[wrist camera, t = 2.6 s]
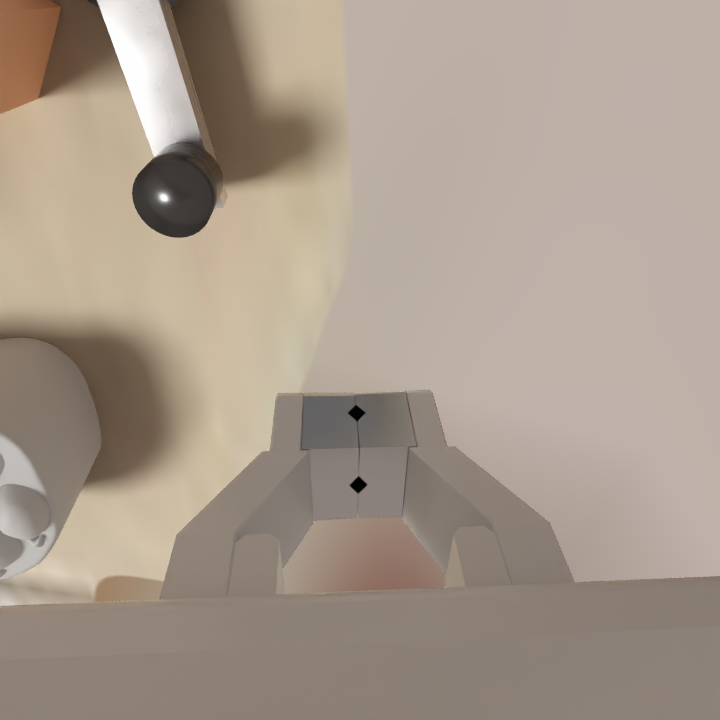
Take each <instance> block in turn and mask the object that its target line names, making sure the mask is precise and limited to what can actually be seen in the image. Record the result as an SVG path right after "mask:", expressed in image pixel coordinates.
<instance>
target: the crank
mask: <svg viewBox="0 0 720 720" xmlns="http://www.w3.org/2000/svg"><path fill="white" fill-rule="evenodd" d="M97 2H98V4H99V7H100V10H101V13H102V15H103V18H104V21H105V24H106V26H107V29H108V32H109V34H110V37H111V40H112V43H113V45H114V48H115V51H116V54H117V56H118V59H119V62H120V65H121V67H122V70H123V73H124V76H125V78H126V81H127V84H128V87H129V89H130V92H131V95H132V97H133V100H134V103H135V106H136V108H137V111H138V114H139V117H140V119H141V122H142V125H143V128H144V130H145V133H146V136H147V139H148V141H149V144H150V147H151V149H152V152H153V155H154V158H153V159H152V160H151V161H150V162H149V163H148V164H147V165H146V166H145V167H144V168H143V170H142V171H141V172H140V173H139V174H138V175H137V177H136V179H135V181H134V184H133V191H132V195H133V202H134V205H135V208H136V210H137V212H138V214H139V215H140V217H141V218H142V220H143V221H144V222H145V223H146V224H147V225H148V226H149V227H151V228H152V229H154V230H155V231H157V232H159V233H161V234H163V235H166V236H170V237H187V236H191V235H194V234H196V233H197V232H199V231H200V230H201V229H203V227H204V226H205V225H206V224H207V222H208V220H209V218H210V216H211V214H212V212H213V210H214V209H216V208H222V207H223V206H224V204H225V202H226V199H227V197H228V196H227V192H226V189H225V186H224V182H223V176H222V172H221V169H220V167H219V165H218V162H217V159H216V156H215V152H214V149H213V146H212V143H211V139H210V136H209V133H208V129H207V126H206V123H205V119H204V116H203V113H202V109H201V106H200V103H199V99H198V96H197V93H196V89H195V86H194V83H193V79H192V76H191V73H190V70H189V66H188V63H187V60H186V56H185V53H184V50H183V46H182V43H181V40H180V36H179V33H178V30H177V26H176V23H175V20H174V16H173V13H172V10H171V6H170V3H169V0H97Z"/></svg>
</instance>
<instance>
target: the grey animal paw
mask: <svg viewBox="0 0 720 720" xmlns="http://www.w3.org/2000/svg"><path fill="white" fill-rule="evenodd" d="M101 445H102V437H101V429H100V423H99V419H98V414H97V410H96V407H95V403H94V400H93V398H92V396H91V393H90V390H89V387H88V385H87V382H86V380H85V378H84V376H83V374H82V372H81V370H80V369H79V368H78V366H77V365H76V364H75V362H74V361H73V360H72V359H71V358H70V357H69V356H67V355H66V354H65V353H64V352H62V351H61V350H60V349H58V348H57V347H55V346H53V345H51V344H49V343H47V342H45V341H42V340H38V339H33V338H8V339H0V579H5V578H10V577H13V576H16V575H19V574H21V573H24V572H26V571H28V570H29V569H31V568H33V567H35V566H36V565H38V564H39V563H40V562H41V561H42V560H43V559H44V558H45V557H46V556H47V554H48V553H49V552H50V550H51V549H52V547H53V545H54V544H55V542H56V540H57V539H58V537H59V535H60V533H61V531H62V529H63V527H64V524H65V522H66V520H67V518H68V516H69V514H70V512H71V510H72V508H73V506H74V503H75V501H76V499H77V497H78V495H79V493H80V491H81V489H82V487H83V485H84V483H85V480H86V478H87V476H88V474H89V472H90V470H91V468H92V466H93V464H94V462H95V459H96V457H97V455H98V453H99V451H100V449H101Z"/></svg>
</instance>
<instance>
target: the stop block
mask: <svg viewBox="0 0 720 720" xmlns="http://www.w3.org/2000/svg"><path fill="white" fill-rule="evenodd" d="M60 11H61V6H59V5H57V4H56V3H54V2H52V1H51V0H0V114H1V113H4V112H6V111H9V110H11V109H14V108H16V107H19V106H21V105H24V104H26V103H28V102H31V101H33V100H36V99H38V98H39V95H40V91H41V87H42V83H43V79H44V75H45V71H46V67H47V63H48V59H49V55H50V51H51V47H52V43H53V39H54V35H55V31H56V27H57V23H58V19H59V15H60Z"/></svg>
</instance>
